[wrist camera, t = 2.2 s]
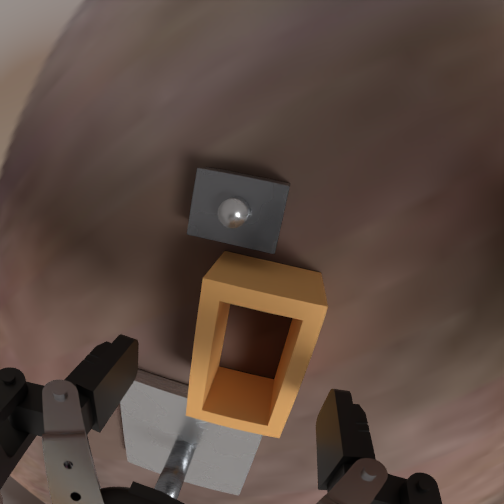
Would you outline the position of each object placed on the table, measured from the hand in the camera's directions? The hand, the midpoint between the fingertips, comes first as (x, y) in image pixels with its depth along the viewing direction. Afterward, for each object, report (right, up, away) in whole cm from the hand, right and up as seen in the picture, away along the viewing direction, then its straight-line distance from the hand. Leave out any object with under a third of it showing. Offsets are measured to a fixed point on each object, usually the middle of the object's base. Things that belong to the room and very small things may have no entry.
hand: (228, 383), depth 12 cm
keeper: (-4, -9, +9) cm, 13 cm away
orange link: (+1, +1, +5) cm, 6 cm away
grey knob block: (0, +7, +4) cm, 8 cm away
